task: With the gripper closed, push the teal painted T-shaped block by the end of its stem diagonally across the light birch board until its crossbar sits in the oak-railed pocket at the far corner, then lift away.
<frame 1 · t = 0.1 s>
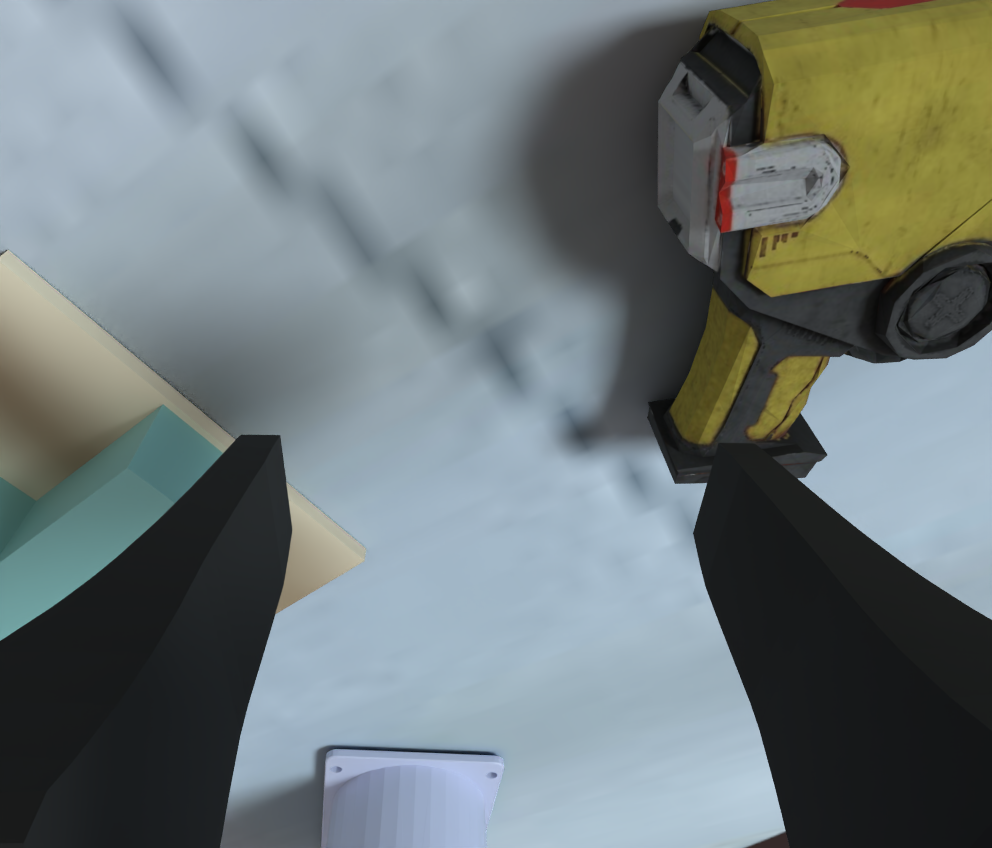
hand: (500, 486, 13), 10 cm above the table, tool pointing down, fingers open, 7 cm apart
t block: (48, 548, 25), point 1 cm above the table, touching board
board: (15, 566, 26), on the table
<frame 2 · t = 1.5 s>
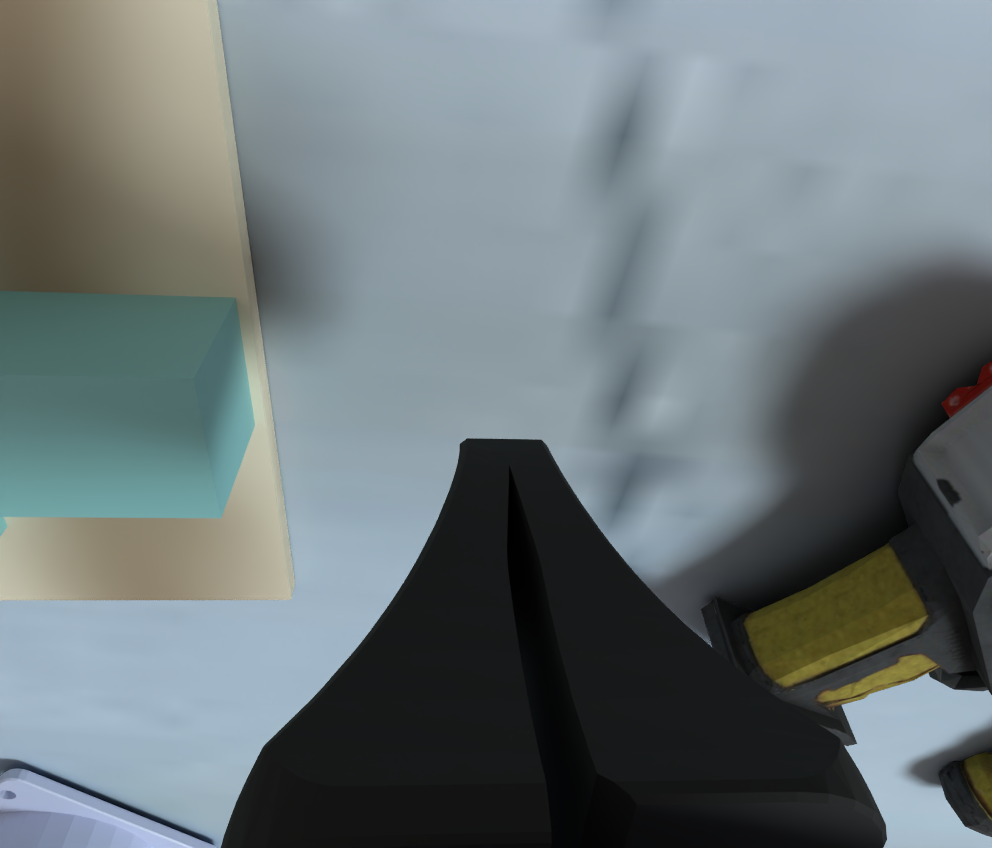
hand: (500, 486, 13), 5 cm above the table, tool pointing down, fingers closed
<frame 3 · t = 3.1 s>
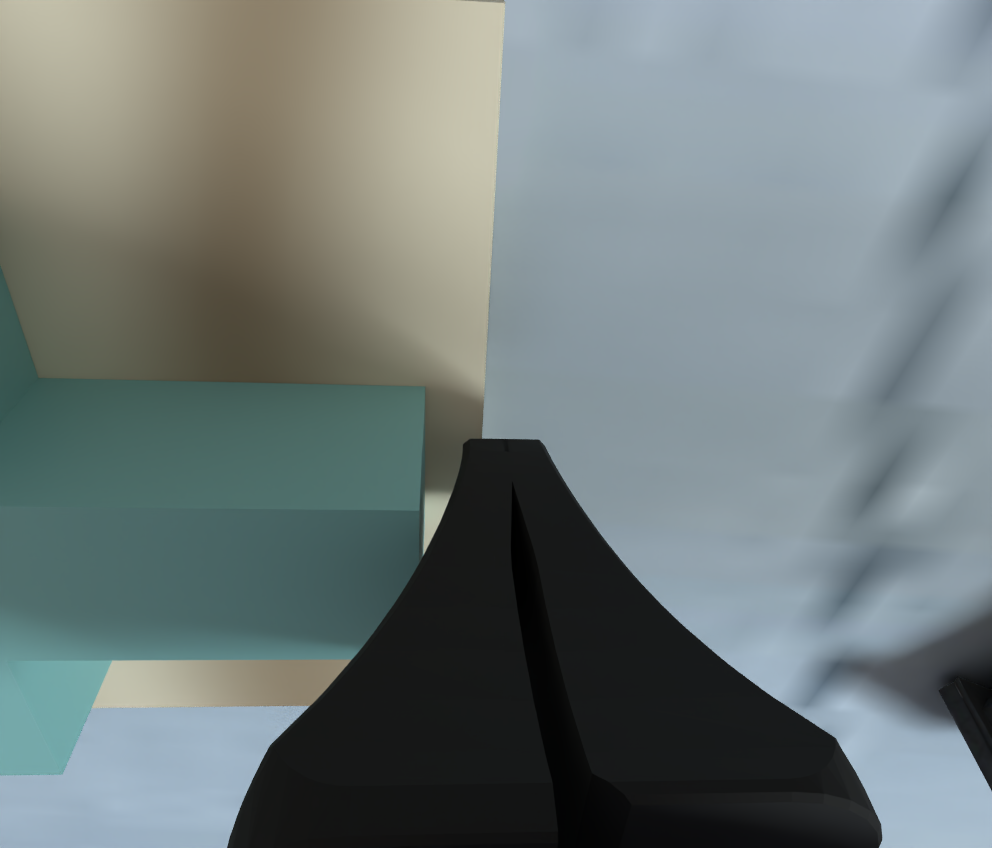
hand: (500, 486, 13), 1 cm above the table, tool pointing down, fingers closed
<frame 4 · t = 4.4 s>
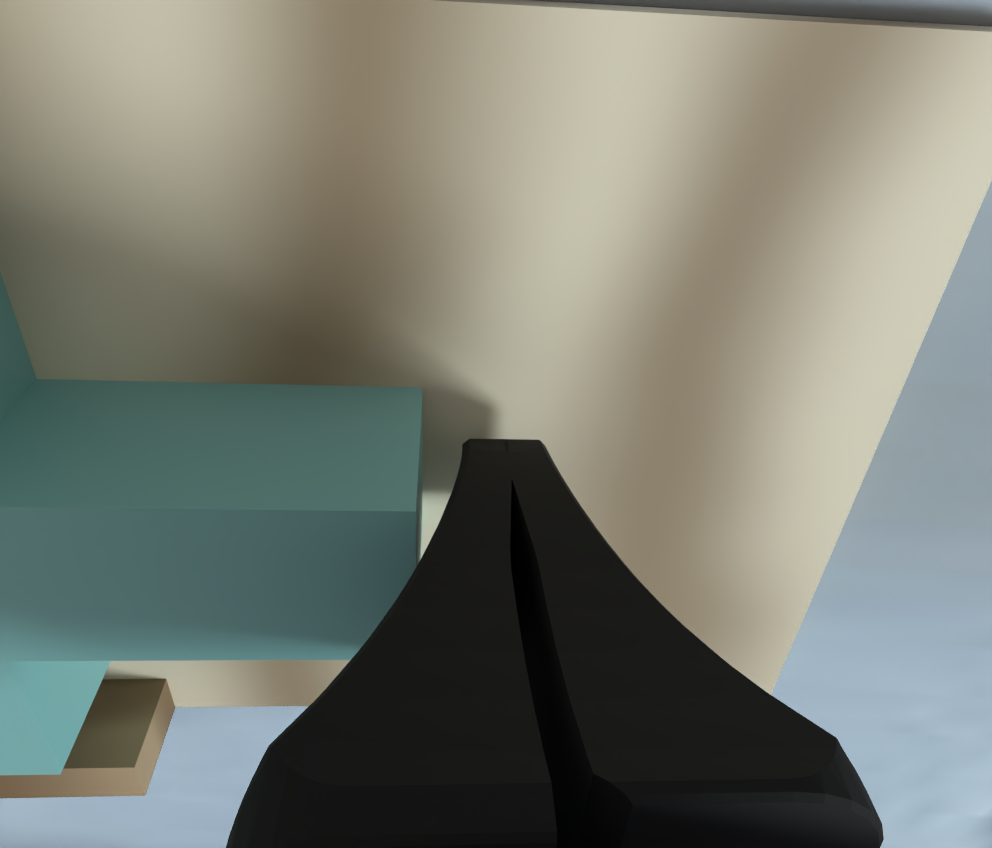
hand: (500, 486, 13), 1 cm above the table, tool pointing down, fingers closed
board: (313, 437, 13), on the table
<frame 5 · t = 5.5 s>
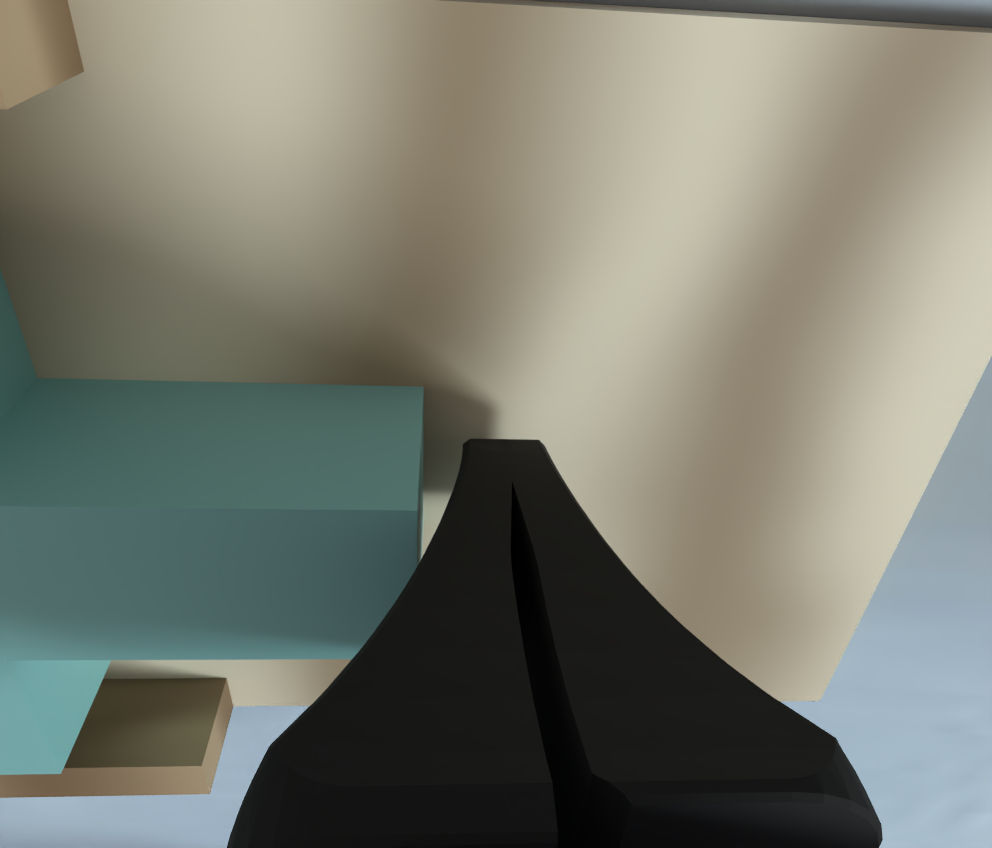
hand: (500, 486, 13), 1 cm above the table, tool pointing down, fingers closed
board: (385, 438, 14), on the table
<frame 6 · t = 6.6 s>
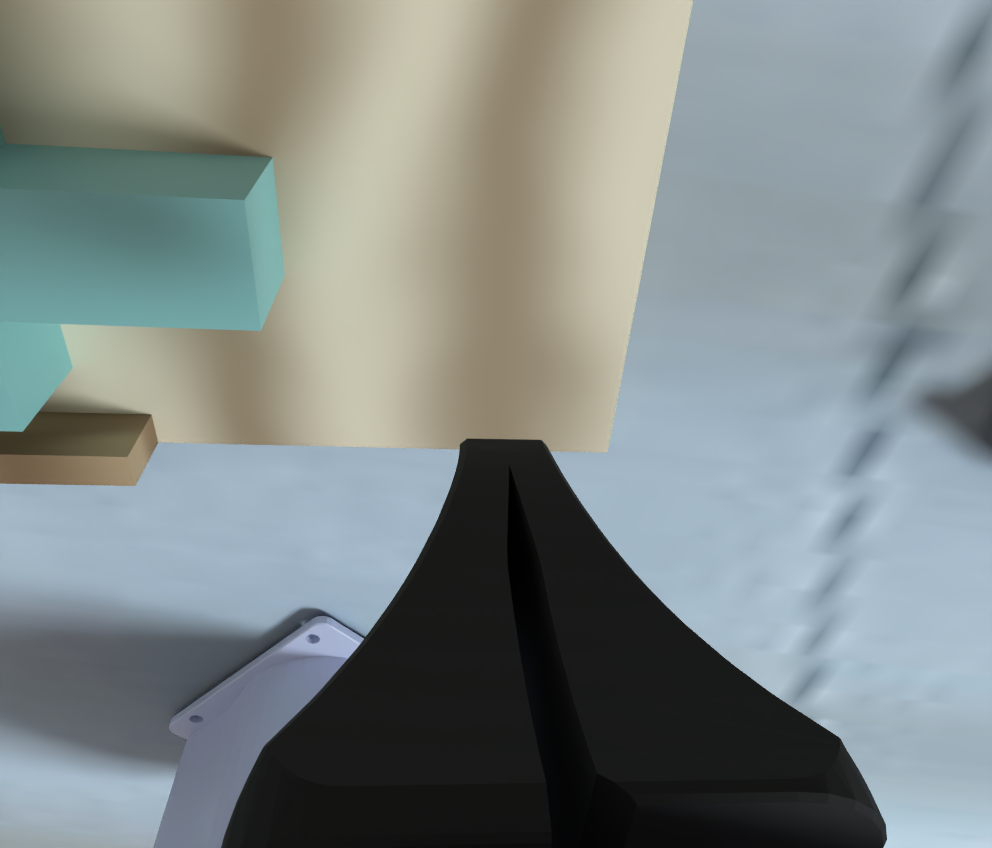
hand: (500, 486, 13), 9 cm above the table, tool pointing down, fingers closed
board: (255, 209, 19), on the table
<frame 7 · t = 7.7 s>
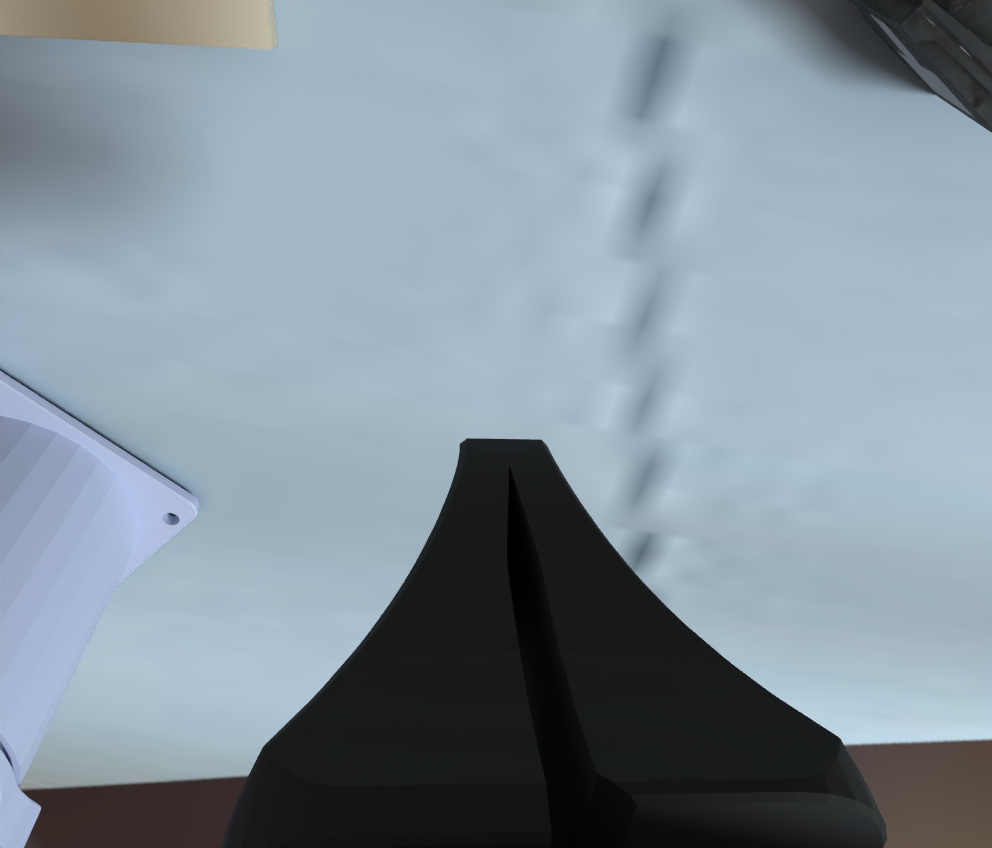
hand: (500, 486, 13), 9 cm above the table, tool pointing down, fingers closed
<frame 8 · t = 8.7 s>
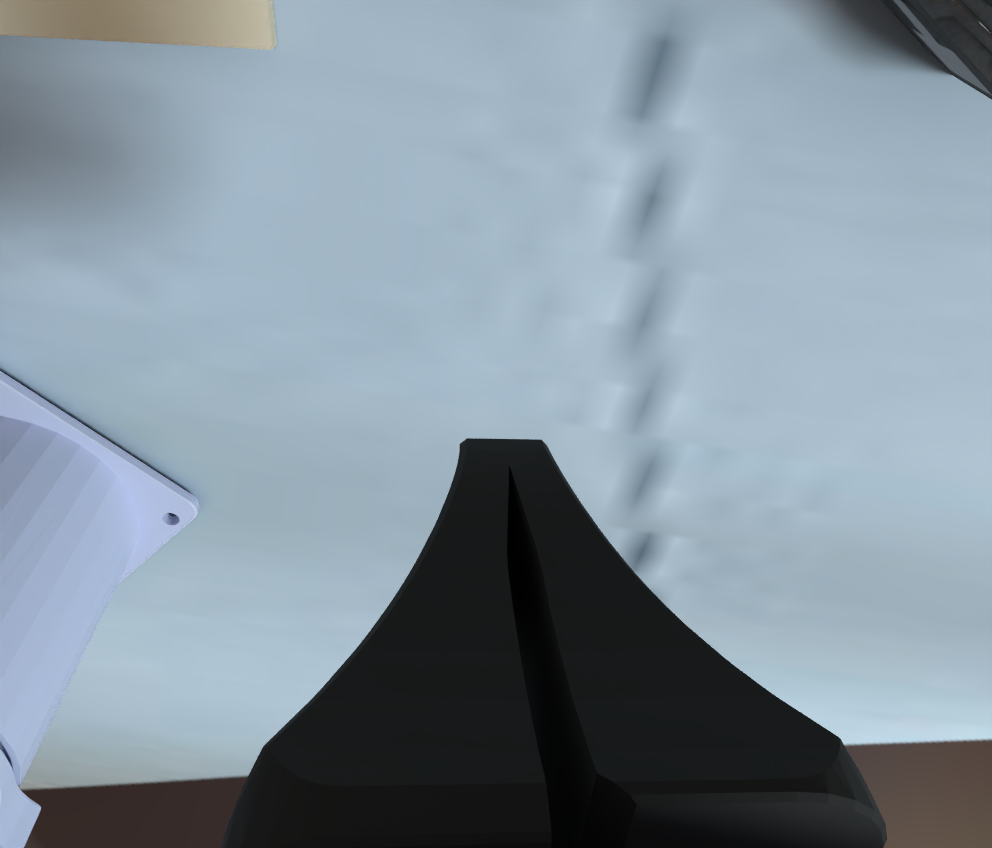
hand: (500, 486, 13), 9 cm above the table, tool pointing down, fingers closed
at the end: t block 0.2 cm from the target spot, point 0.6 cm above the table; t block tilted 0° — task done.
